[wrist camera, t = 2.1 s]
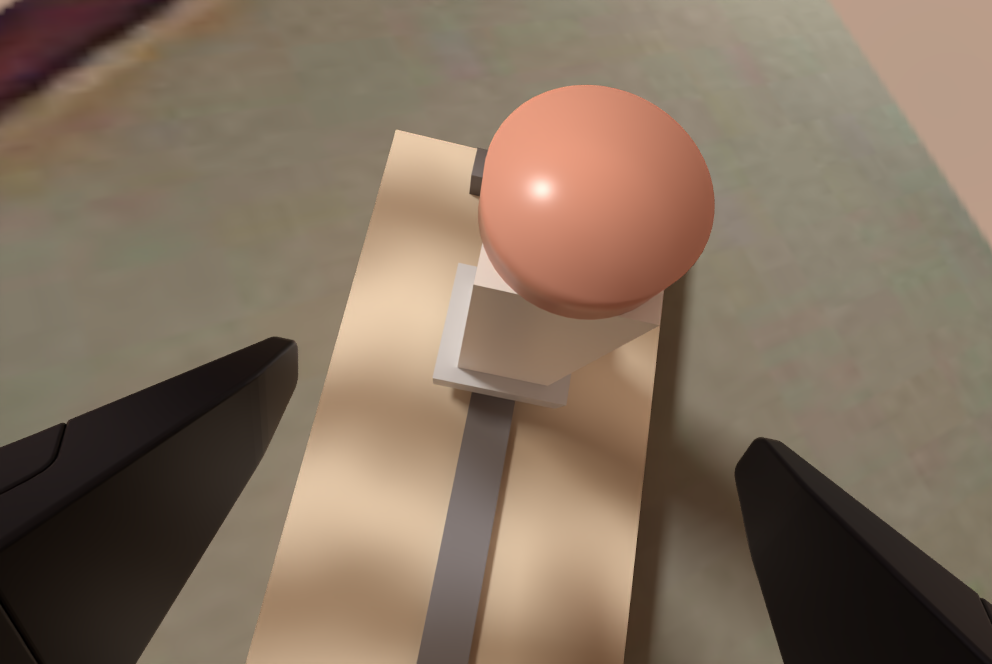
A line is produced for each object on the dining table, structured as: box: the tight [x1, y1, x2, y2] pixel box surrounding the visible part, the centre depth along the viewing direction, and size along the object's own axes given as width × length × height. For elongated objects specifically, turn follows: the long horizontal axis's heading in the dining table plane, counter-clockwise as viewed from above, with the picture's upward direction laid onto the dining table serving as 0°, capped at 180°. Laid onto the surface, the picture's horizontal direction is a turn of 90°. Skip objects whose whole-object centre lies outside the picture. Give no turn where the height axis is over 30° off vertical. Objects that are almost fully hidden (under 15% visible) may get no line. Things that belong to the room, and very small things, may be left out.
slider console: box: [246, 130, 664, 664], centre depth 17 cm, size 24×12×3 cm, turn 169°
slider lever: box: [433, 85, 715, 409], centre depth 12 cm, size 4×4×11 cm
